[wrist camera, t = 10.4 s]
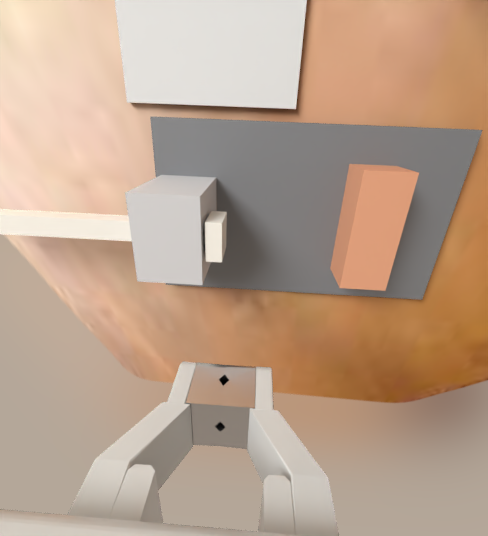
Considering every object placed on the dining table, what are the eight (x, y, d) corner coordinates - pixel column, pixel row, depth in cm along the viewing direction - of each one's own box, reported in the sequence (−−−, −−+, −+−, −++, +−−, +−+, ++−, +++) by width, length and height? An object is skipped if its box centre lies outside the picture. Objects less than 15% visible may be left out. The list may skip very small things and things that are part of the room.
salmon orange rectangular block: (349, 163, 25) (363, 170, 22) (396, 165, 25) (419, 172, 22) (330, 268, 30) (339, 287, 26) (370, 270, 29) (385, 290, 26)
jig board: (154, 116, 25) (105, 113, 17) (474, 129, 24) (575, 132, 17) (168, 279, 32) (138, 329, 24) (417, 294, 32) (469, 351, 24)
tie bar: (-71, 196, 24) (-113, 205, 21) (226, 211, 23) (221, 223, 20) (-56, 231, 25) (-94, 244, 22) (226, 247, 24) (221, 262, 22)
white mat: (103, -124, 19) (99, -131, 19) (318, -121, 19) (319, -128, 18) (130, 102, 25) (127, 102, 24) (295, 109, 25) (295, 108, 24)
